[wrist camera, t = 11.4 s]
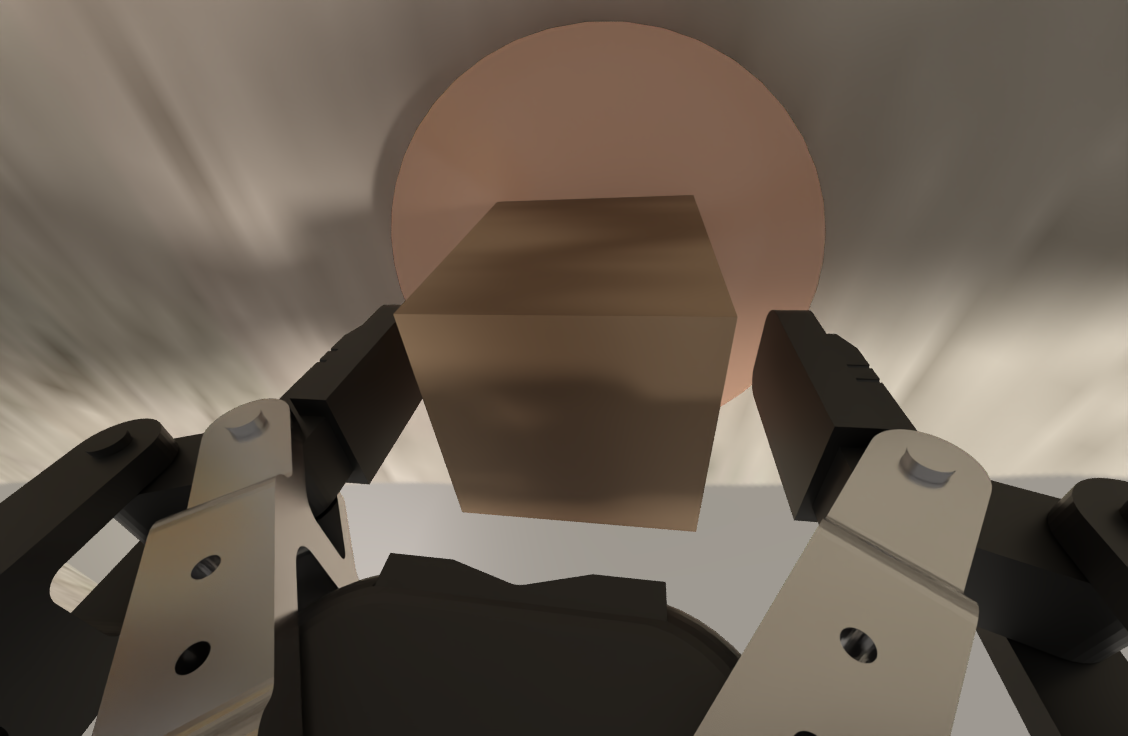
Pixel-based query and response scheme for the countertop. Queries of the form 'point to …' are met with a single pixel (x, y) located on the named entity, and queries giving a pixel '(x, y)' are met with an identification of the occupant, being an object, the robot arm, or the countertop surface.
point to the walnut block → (576, 360)
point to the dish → (622, 158)
